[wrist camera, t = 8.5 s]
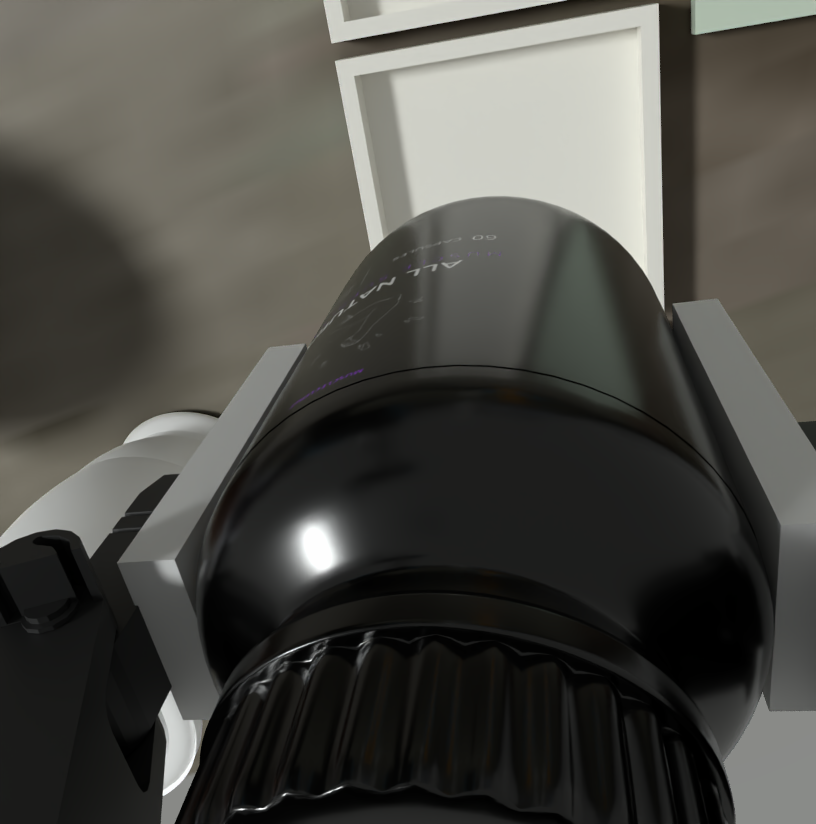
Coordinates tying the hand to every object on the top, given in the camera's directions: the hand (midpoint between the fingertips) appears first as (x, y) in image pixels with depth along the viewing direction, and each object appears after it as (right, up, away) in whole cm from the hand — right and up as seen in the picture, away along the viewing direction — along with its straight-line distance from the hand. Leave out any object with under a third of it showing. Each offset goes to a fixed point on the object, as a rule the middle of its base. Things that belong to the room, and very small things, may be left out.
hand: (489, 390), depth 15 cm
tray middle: (+2, +9, +16) cm, 19 cm away
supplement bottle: (0, +1, +2) cm, 2 cm away
